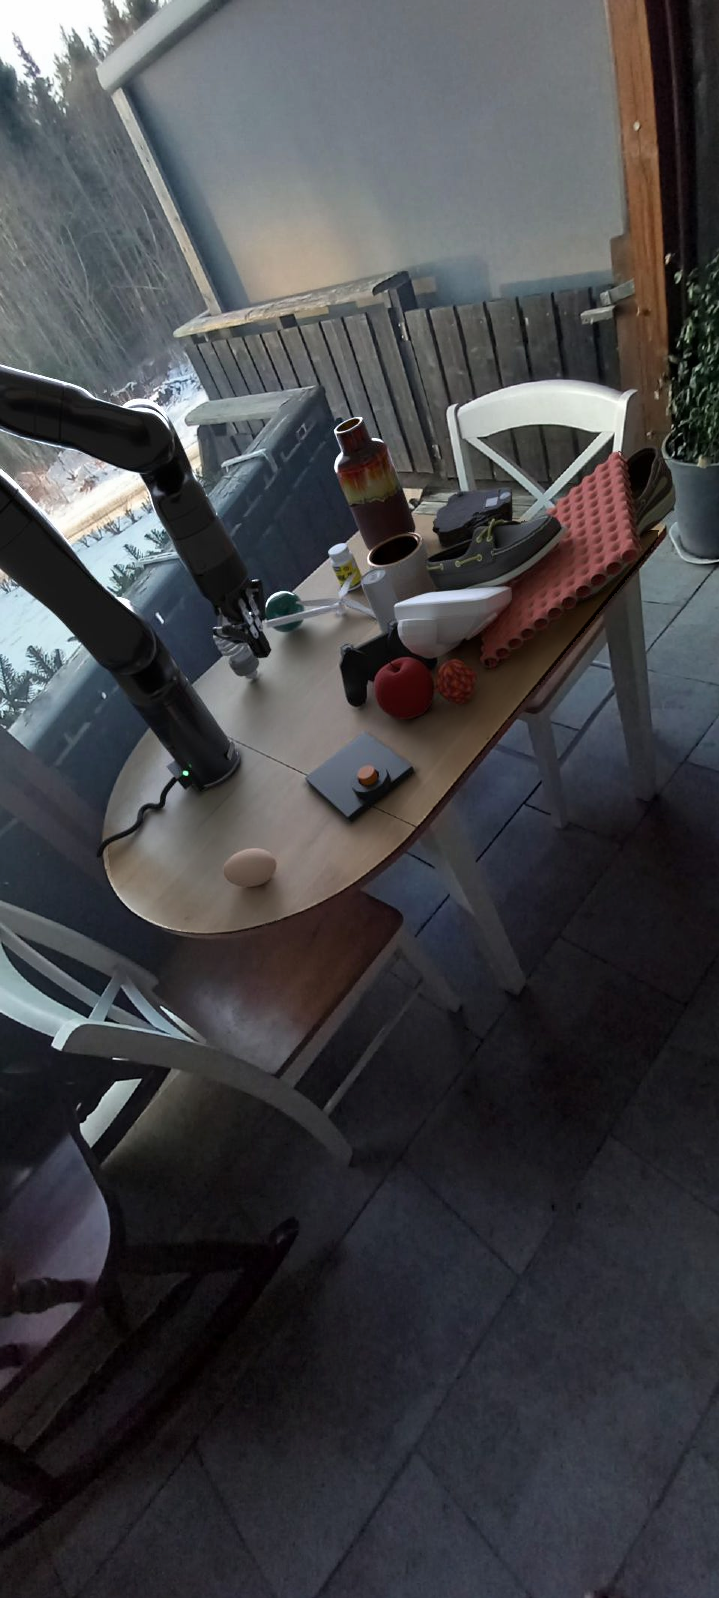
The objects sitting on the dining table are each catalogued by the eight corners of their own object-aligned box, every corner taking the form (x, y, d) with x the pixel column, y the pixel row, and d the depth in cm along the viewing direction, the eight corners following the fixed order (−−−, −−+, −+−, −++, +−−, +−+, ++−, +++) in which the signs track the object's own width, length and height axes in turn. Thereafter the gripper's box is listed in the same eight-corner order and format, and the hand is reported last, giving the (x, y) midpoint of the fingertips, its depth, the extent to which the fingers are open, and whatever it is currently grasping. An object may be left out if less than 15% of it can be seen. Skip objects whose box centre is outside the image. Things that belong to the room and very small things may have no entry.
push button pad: (418, 774, 108) (411, 760, 106) (353, 825, 105) (345, 812, 103) (367, 737, 118) (360, 723, 116) (308, 783, 115) (300, 770, 113)
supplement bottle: (339, 593, 152) (323, 557, 147) (346, 579, 155) (330, 544, 149) (360, 589, 150) (344, 553, 144) (366, 575, 153) (351, 539, 147)
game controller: (434, 663, 128) (409, 609, 126) (441, 665, 122) (415, 608, 119) (350, 706, 129) (323, 653, 127) (352, 711, 122) (324, 655, 120)
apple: (394, 737, 115) (371, 688, 108) (378, 706, 122) (356, 658, 115) (448, 710, 114) (429, 660, 108) (430, 681, 121) (410, 631, 114)
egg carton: (642, 554, 99) (633, 545, 98) (489, 670, 117) (480, 663, 117) (626, 456, 117) (617, 447, 116) (495, 570, 135) (487, 563, 134)
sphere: (319, 615, 149) (302, 581, 143) (297, 641, 145) (279, 607, 140) (289, 615, 154) (272, 582, 148) (268, 640, 150) (249, 607, 145)
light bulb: (253, 666, 146) (224, 615, 138) (272, 670, 142) (242, 618, 134) (235, 685, 143) (203, 635, 135) (253, 689, 140) (222, 638, 132)
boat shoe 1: (558, 555, 108) (525, 504, 106) (429, 623, 131) (399, 583, 129) (588, 519, 114) (558, 469, 111) (459, 590, 137) (432, 550, 134)
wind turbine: (256, 610, 147) (355, 586, 151) (279, 656, 138) (383, 629, 143) (254, 594, 144) (355, 570, 148) (277, 640, 135) (383, 613, 140)
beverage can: (409, 621, 135) (387, 564, 127) (408, 637, 132) (385, 579, 124) (384, 628, 137) (361, 572, 129) (383, 644, 134) (358, 587, 126)
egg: (265, 880, 99) (214, 889, 103) (286, 883, 104) (237, 892, 107) (262, 842, 101) (212, 852, 104) (283, 846, 105) (234, 856, 108)
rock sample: (462, 558, 143) (455, 535, 140) (419, 540, 155) (412, 518, 151) (533, 510, 145) (528, 486, 142) (486, 496, 157) (480, 473, 154)
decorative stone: (485, 709, 111) (470, 668, 106) (442, 720, 114) (425, 680, 108) (484, 683, 116) (469, 642, 111) (442, 694, 118) (426, 654, 113)
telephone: (434, 588, 129) (440, 642, 132) (376, 609, 114) (384, 670, 117) (522, 580, 120) (526, 638, 124) (471, 601, 105) (478, 667, 108)
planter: (431, 606, 136) (414, 561, 129) (377, 614, 141) (359, 571, 134) (444, 572, 142) (429, 526, 136) (392, 581, 147) (375, 538, 141)
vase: (424, 548, 151) (380, 420, 134) (374, 570, 153) (323, 447, 135) (415, 526, 159) (371, 403, 142) (367, 547, 161) (318, 428, 144)
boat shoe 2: (580, 615, 118) (568, 548, 110) (519, 595, 127) (504, 532, 119) (711, 505, 125) (709, 434, 117) (645, 494, 134) (638, 427, 126)
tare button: (381, 777, 106) (377, 770, 105) (367, 788, 106) (363, 781, 105) (371, 770, 108) (367, 762, 107) (357, 780, 107) (353, 773, 106)
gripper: (209, 533, 108) (261, 630, 119) (166, 586, 100) (226, 685, 111) (251, 524, 104) (301, 625, 115) (210, 579, 96) (268, 681, 108)
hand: (264, 654), depth 113 cm, fingers closed
